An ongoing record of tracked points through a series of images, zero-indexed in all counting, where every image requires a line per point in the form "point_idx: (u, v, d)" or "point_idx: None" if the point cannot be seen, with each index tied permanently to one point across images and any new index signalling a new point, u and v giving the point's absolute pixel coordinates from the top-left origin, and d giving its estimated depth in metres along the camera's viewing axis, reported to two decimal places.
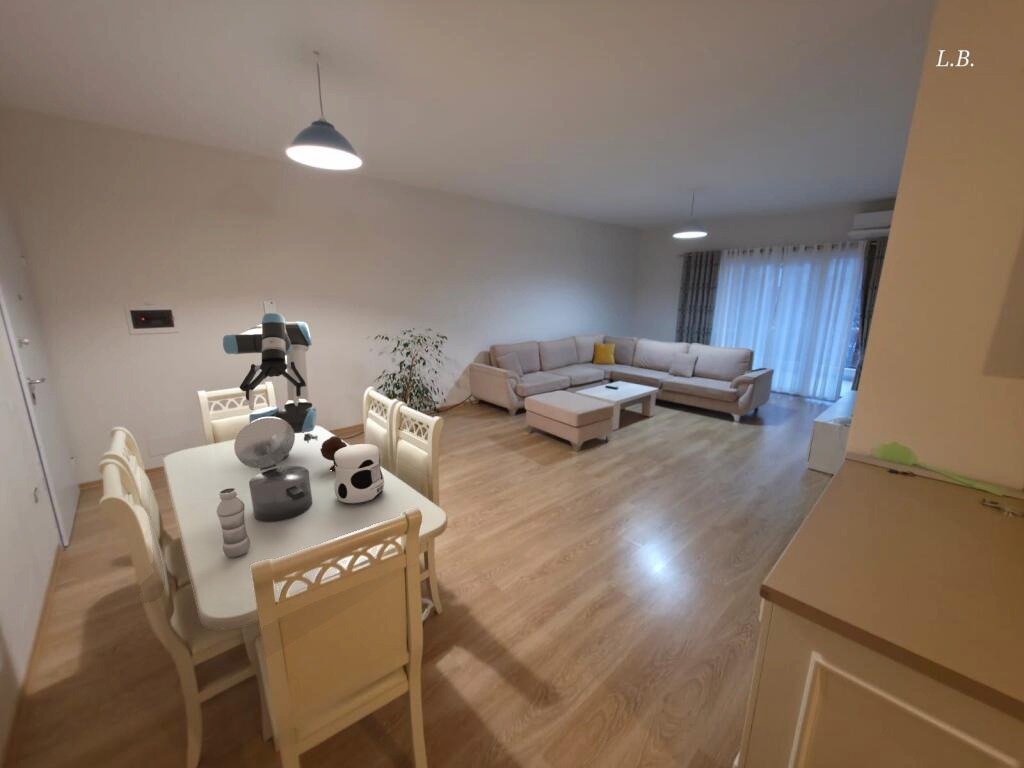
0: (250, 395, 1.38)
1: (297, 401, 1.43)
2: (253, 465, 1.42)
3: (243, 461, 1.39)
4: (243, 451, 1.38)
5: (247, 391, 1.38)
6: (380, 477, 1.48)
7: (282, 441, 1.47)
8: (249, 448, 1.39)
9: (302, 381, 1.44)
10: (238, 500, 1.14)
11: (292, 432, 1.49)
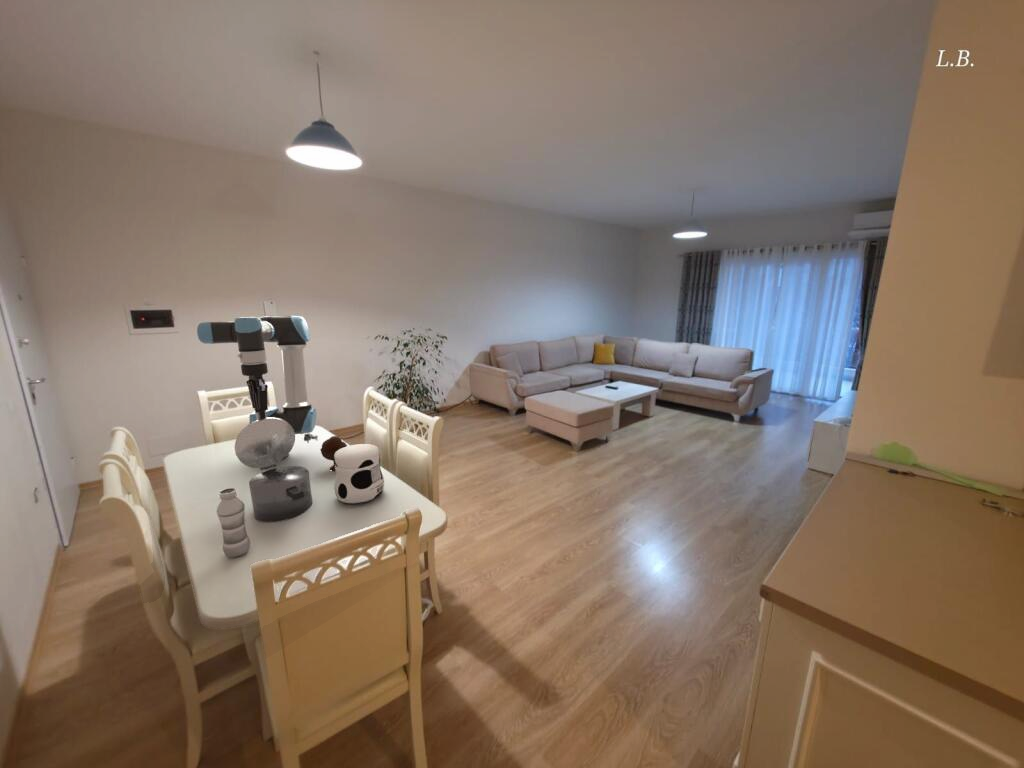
0: (256, 417, 1.40)
1: None
2: (253, 465, 1.41)
3: (243, 461, 1.38)
4: (243, 451, 1.37)
5: None
6: (380, 477, 1.48)
7: (282, 441, 1.47)
8: (249, 449, 1.39)
9: (259, 408, 1.38)
10: (238, 500, 1.14)
11: (292, 432, 1.48)
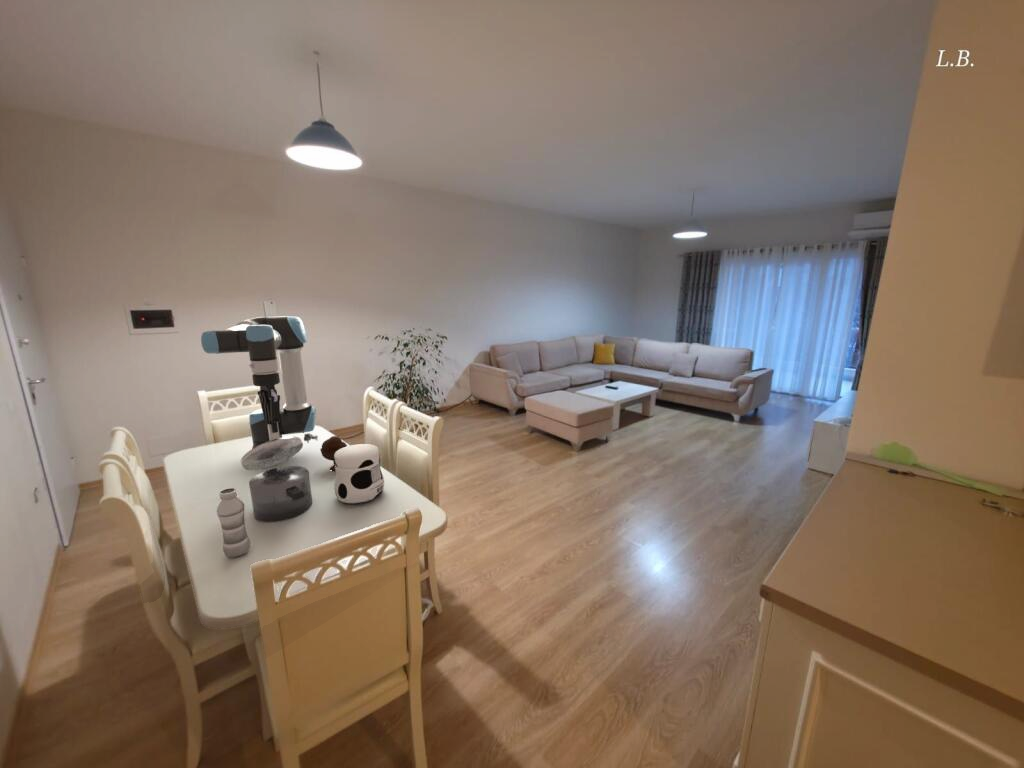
0: (268, 429, 1.35)
1: (278, 436, 1.36)
2: (255, 468, 1.41)
3: (247, 468, 1.37)
4: (249, 462, 1.35)
5: None
6: (380, 477, 1.48)
7: (289, 451, 1.44)
8: (256, 460, 1.36)
9: (271, 420, 1.32)
10: (238, 500, 1.14)
11: (301, 445, 1.45)
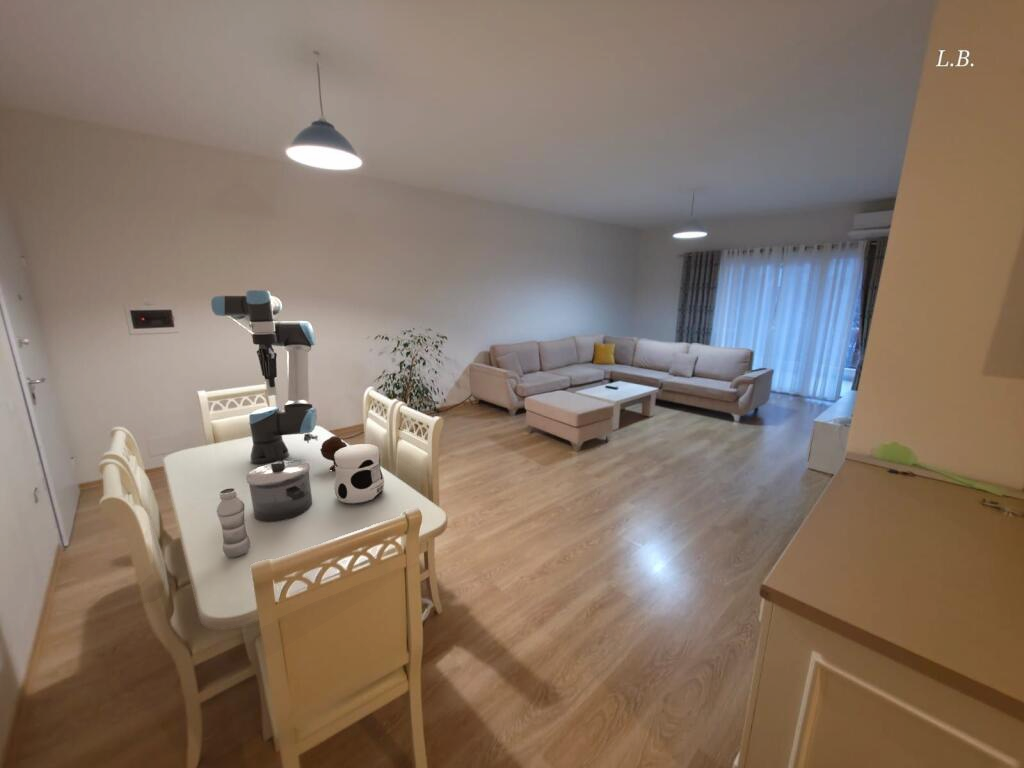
0: (266, 384, 1.52)
1: (275, 390, 1.53)
2: None
3: None
4: None
5: None
6: (380, 477, 1.48)
7: None
8: None
9: (268, 375, 1.49)
10: (238, 500, 1.14)
11: None
